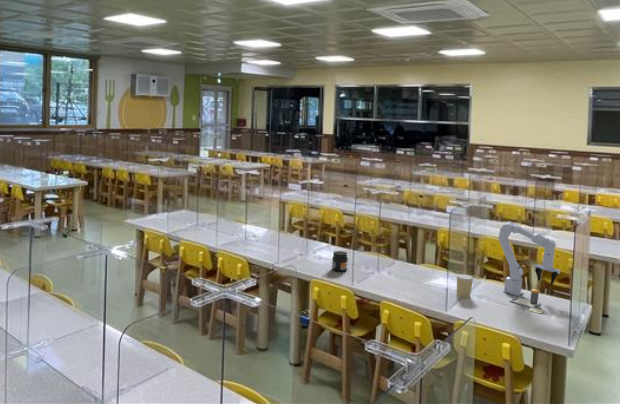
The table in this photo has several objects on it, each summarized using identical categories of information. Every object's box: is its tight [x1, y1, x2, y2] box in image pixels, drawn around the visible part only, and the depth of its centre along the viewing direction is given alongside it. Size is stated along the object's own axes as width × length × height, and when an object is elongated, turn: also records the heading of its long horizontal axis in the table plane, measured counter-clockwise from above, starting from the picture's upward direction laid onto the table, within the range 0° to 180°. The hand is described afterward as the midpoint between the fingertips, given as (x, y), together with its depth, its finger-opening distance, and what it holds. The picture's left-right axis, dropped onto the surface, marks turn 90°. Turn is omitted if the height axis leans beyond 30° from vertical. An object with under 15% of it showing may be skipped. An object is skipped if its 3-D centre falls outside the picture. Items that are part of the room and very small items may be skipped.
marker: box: [529, 288, 540, 305], centre depth 304 cm, size 4×4×8 cm
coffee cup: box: [456, 273, 474, 299], centre depth 314 cm, size 9×9×12 cm
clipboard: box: [509, 296, 542, 309], centre depth 306 cm, size 14×10×1 cm
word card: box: [527, 308, 544, 314], centre depth 295 cm, size 7×5×1 cm
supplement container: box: [331, 250, 349, 273], centre depth 354 cm, size 10×10×12 cm
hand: (545, 282), depth 313 cm, fingers open, 7 cm apart
